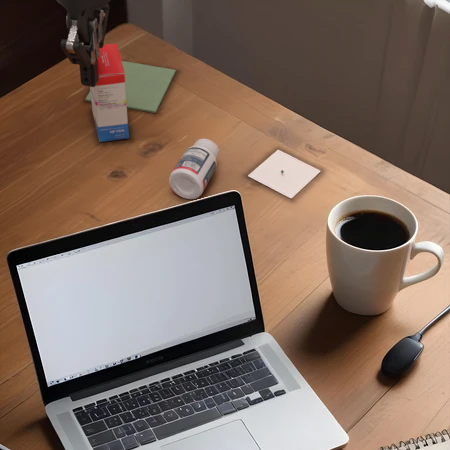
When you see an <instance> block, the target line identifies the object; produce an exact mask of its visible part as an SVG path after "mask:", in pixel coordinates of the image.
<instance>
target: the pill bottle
mask: <svg viewBox="0 0 450 450" xmlns="http://www.w3.org/2000/svg"><path fill="white" fill-rule="evenodd" d="M219 155H220V149H219V147H218V145H217V144H216V143H215V141H213V140H212V139H211V140H210V139H208V138H199V139H197V140H196V141H195V143H194V144H193V145H192V146H190V147H188V148H187V149H186V150H185V151H184V152H183V154H182V156H181V157H180V158H179V160H178V162H177V163H176V165H175V167H174V168H173V169H172V172H171V173H170V175H169V178H168V183H169V186H170V189H171V190H172V191H173V192H174V193H175V194H176V195H177V196H179V197H181V198H183V199H185V200H196V199H198V198H199V197H200V196H202V194H203V193H204V191H205V189H206V187H207V186H208V184H209V183H210V180H211V179H212V177H213V175H214V174H215V172H216V169H217V167H218V164H217V162H218V161H217V159H218V158H219Z"/></svg>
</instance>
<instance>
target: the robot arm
mask: <svg viewBox="0 0 450 450" xmlns="http://www.w3.org/2000/svg"><path fill="white" fill-rule="evenodd" d="M56 2H57V3H58V4H59V5H61V6H62V7H63V8H64V9H65V10H66V12H67V13H66V14H67V15H66V19H65V22H66V28H67V29H68V35H67V39H61V41H60V49H61V50H62V52H63V54H64V55H65V56H66V57H67V59H68V60H69V62H70V63H71V65H79V77H80V83H81V85H82V86H84V87H89V88H90V87H95V86H96V84H97V83H98V81H99V74H98V58H99V56H100V48H103V45H104V44H105V37H106V31H107V25H108V18H109V12H110V5H109V3H110V2H111V0H56Z"/></svg>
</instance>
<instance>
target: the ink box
mask: <svg viewBox="0 0 450 450" xmlns="http://www.w3.org/2000/svg"><path fill="white" fill-rule="evenodd" d="M122 61H123V60H122V57H121V53H120V50H119V47H118V44H117V43H104V45H103V48H100V56H99V58H98V74H99V81H98V83H97V84H96V86H95V87H89V92H90V93H91V102H90V103H91V110H92V111H91V112H92V116H93V120H94V124H95V129H96V133H97V138H98V141H99V143H105V142H112V141H120V140H121V141H122V140H129V139H130V131H129V130H130V129H129V119H128V118H129V117H128V108H127V104H126V89H125V73H124V69H123V65H122Z"/></svg>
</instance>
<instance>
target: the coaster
mask: <svg viewBox="0 0 450 450" xmlns="http://www.w3.org/2000/svg"><path fill="white" fill-rule="evenodd" d="M321 172H322V170H320V169H318V168H317V167H314V166H312V165H310V164H308V163H306V162H304V161H302V160H300V159H299V158H296V157H294V156H292V155H290V154H288V153H286V152H284V151H281V150H280V149H277V150H276V151H275V152H273V153H272V154H271V155H270V156H269V157H268V158H266V159H265V160H264V161H263V162H262V163H261V164H260V165H258V166H257V167H256V168H255V169H254V170H253V171H251V172H250V173H249V174H248V175H247V176H248V177H249V178H251V179H252V180H255V181H257V182H259V183H260V184H262V185H264V186H266V187H268V188H270V189H272V190H273V191H276V192H277V193H279V194H281V195H283V196H285V197H287V198H289V199H293V198H294V197H295V196H296V195H297V194H298V193H299V192H300V191H302V189H303V188H305V187H306V186H307V185H309V183H311V181H313V179H314V178H315V177H316V176H318V174H319V173H321Z"/></svg>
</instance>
